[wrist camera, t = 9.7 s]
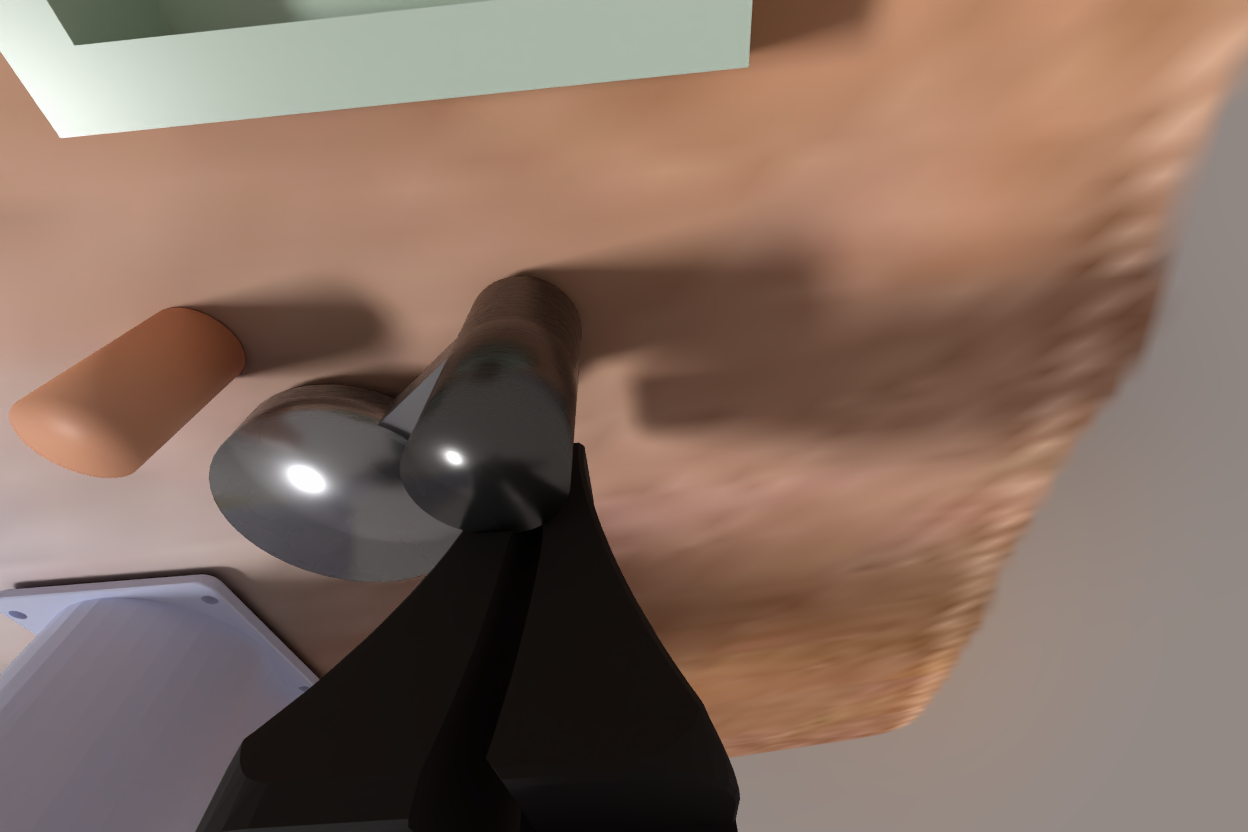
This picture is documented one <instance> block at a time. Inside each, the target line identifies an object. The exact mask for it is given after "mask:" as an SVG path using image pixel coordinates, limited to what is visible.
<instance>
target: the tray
mask: <svg viewBox="0 0 1248 832" xmlns="http://www.w3.org/2000/svg"><path fill="white" fill-rule="evenodd" d="M752 1H753V0H0V51H1V53H2V54H3V56H4V57H5V59H6V60H7V61H8V63H9V64H10V66H11V67H12V69H13V70H14V72H15V73H16V74H17V76H18V77H19V79H20V80H21V82H22V83H23V85H24V86H25V87H26V89H27V90H28V92H29V93H30V95H31V96H32V98H33V99H34V100H35V102H36V103H37V105H38V106H39V108H40V109H41V111H42V112H43V113H44V115H45V116H46V118H47V119H48V121H49V122H50V124H51V125H52V126H53V128H54V129H55V131H56V132H57V134H58V135H59V137H60V138H67V137H77V136H87V135H96V134H106V133H116V132H125V131H135V130H145V129H154V128H164V127H174V126H184V125H193V124H203V123H213V122H222V121H232V120H242V119H251V118H261V117H271V116H281V115H290V114H300V113H310V112H319V111H329V110H339V109H348V108H358V107H368V106H377V105H387V104H397V103H407V102H416V101H426V100H436V99H445V98H455V97H465V96H474V95H484V94H494V93H503V92H513V91H523V90H533V89H542V88H552V87H562V86H571V85H581V84H591V83H600V82H610V81H620V80H629V79H639V78H649V77H659V76H668V75H678V74H688V73H697V72H707V71H717V70H726V69H736V68H746V67H749V52H750V35H751V18H752Z"/></svg>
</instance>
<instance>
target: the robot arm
mask: <svg viewBox="0 0 1248 832" xmlns="http://www.w3.org/2000/svg"><path fill="white" fill-rule="evenodd" d="M0 613H2V614H4V615H5V616H7V617H8V618H10V619H12V620H13V621H15V622H16V623H18V624H19V625H21V626H23V627H24V628H26V629H27V630H29V631H30V632H32V633H34V634H35V635H37V636H36V637H35V638H34V639H33V640H32V641H31V642H30V643H29V644H28V646H27V647H26V648H25V649H24V650H23V651H22V652H21V653H20V654H19V655H18V656H17V657H16V658H15V659H14V660H13V661H12V663H11V664H10V665H9V666H8V667H7V668H6V669H5V670H4V671H3V672H2V673H1V674H0V832H738V831H737V825H736V815H737V810H738V805H739V801H740V793H739V787H738V784H737V780H736V777H735V773H734V770H733V768H732V765H731V763H730V760H729V758H728V755H727V753H726V751H725V749H724V746H723V744H722V742H721V740H720V738H719V736H718V734H717V732H716V730H715V728H714V726H713V724H712V722H711V720H710V718H709V716H708V713H707V711H706V709H705V706H704V704H703V703H702V701H701V700H700V698H699V697H698V696H697V694H696V693H695V691H694V690H693V689H692V687H691V686H690V685H689V683H688V682H687V680H686V679H685V677H684V676H683V674H682V673H681V672H680V670H679V669H678V667H677V666H676V664H675V663H674V661H673V660H672V658H671V657H670V655H669V654H668V652H667V651H666V649H665V647H664V646H663V644H662V643H661V641H660V640H659V638H658V637H657V635H656V633H655V632H654V630H653V628H652V626H651V625H650V623H649V621H648V620H647V618H646V616H645V615H644V613H643V611H642V609H641V608H640V606H639V604H638V603H637V601H636V599H635V597H634V595H633V594H632V592H631V590H630V588H629V586H628V584H627V582H626V580H625V578H624V576H623V574H622V572H621V570H620V568H619V566H618V564H617V562H616V560H615V558H614V555H613V553H612V551H611V549H610V546H609V544H608V542H607V539H606V537H605V534H604V532H603V529H602V527H601V524H600V521H599V519H598V516H597V513H596V510H595V507H594V501H593V495H592V489H591V483H590V477H589V471H588V465H587V459H586V453H585V447H584V446H583V445H582V444H580V443H573V456H572V470H571V483H570V492H569V496H568V499H567V501H566V503H565V505H564V506H563V508H562V509H561V510H560V511H559V512H558V513H557V514H556V515H555V516H554V517H553V518H552V519H551V520H549V521H548V522H546V523H544V524H543V525H541V526H539V527H536V528H534V529H531V530H528V531H525V532H520V533H516V534H514V533H513V531H504V532H491V533H472V532H467V531H462V532H461V533H460V535H459V536H458V537H457V539H456V540H455V541H454V543H453V544H452V545H451V547H450V548H449V549H448V551H447V552H446V553H445V554H444V556H443V557H442V558H441V559H440V560H439V562H438V563H437V564H436V565H435V567H434V568H433V569H432V570H431V571H430V572H429V574H428V575H427V576H426V577H425V578H424V579H423V580H422V581H421V583H420V584H419V585H418V586H417V587H416V588H415V589H414V590H413V592H412V593H411V594H410V595H409V596H408V597H407V598H406V599H405V600H404V601H403V602H402V603H401V604H400V605H399V606H398V607H397V608H396V609H395V610H394V611H393V612H392V613H391V614H390V616H389V617H388V618H387V619H386V620H385V621H384V622H383V623H382V624H381V625H380V626H379V627H377V628H376V629H375V630H374V631H373V632H372V633H371V634H370V635H369V636H368V637H367V638H366V639H365V640H364V641H363V642H362V643H360V644H359V645H358V646H357V647H356V648H355V649H354V650H353V651H352V652H350V653H349V654H348V655H347V656H346V657H345V658H344V659H343V660H341V661H340V662H339V663H338V664H337V665H336V666H335V667H334V668H333V669H331V670H330V671H329V672H328V673H327V674H326V675H325V676H323V677H322V678H321V679H319V678H318V677H317V676H316V675H315V674H314V673H313V672H312V671H311V670H310V669H309V668H308V667H307V666H306V665H305V664H304V663H303V662H302V661H301V660H300V659H299V658H298V657H297V656H296V655H295V654H294V653H293V652H292V651H291V650H290V649H289V648H288V647H287V646H286V645H285V644H284V643H283V642H282V641H281V640H280V639H279V638H278V637H277V636H276V635H275V634H274V633H273V632H272V631H271V630H270V629H269V628H268V627H267V626H266V625H265V624H264V623H263V622H262V621H261V620H260V619H259V618H258V617H257V616H256V615H255V614H254V613H253V612H252V611H251V610H250V609H249V608H248V607H247V606H246V605H245V604H244V603H243V602H242V601H241V600H240V599H239V598H238V597H237V596H236V595H235V594H234V593H233V592H232V591H231V590H230V589H229V588H228V587H227V586H226V585H225V584H224V583H223V582H222V581H220V580H219V579H218V578H216V577H213V576H210V575H204V574H199V575H187V576H174V577H161V578H149V579H136V580H123V581H111V582H98V583H85V584H73V585H60V586H47V587H35V588H22V589H9V590H2V591H0Z"/></svg>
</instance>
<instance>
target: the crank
mask: <svg viewBox="0 0 1248 832" xmlns="http://www.w3.org/2000/svg"><path fill="white" fill-rule="evenodd" d="M581 335H582V327H581V321H580V317H579V314H578V312H577V310H576V308H575V306H574V305H573V303H572V302H571V300H570V299H569V298H568V297H567V296H566V295H565V294H564V293H563V292H562V291H561V290H559V289H558V288H556V287H555V286H553V285H552V284H550V283H548V282H546V281H543V280H540V279H537V278H532V277H525V276H515V277H508V278H504V279H501V280H498V281H496V282H494V283H492V284H491V285H489V286H487V287H486V288H485V289H484V290H483V291H482V292H481V293H480V294H479V295H478V297H477V298H476V300H475V302H474V304H473V306H472V308H471V310H470V312H469V314H468V316H467V318H466V320H465V323H464V325H463V327H462V329H461V331H460V333H459V335H458V337H457V339H456V340H455V341H454V342H452V343H451V344H450V345H449V346H448V347H447V348H446V349H445V350H444V351H443V352H442V353H441V354H440V355H439V356H438V357H437V358H436V359H435V360H434V361H433V362H432V363H431V364H430V365H429V366H428V367H427V368H426V369H425V370H424V371H423V372H422V373H421V374H420V375H419V376H418V377H417V378H416V379H415V380H414V381H412V382H411V383H410V384H409V385H408V386H407V387H406V388H405V389H404V390H403V391H402V392H401V393H400V394H399V395H398V396H397V397H396V398H394V397H392V396H389V395H386V394H383V393H380V392H376V391H373V390H369V389H364V388H359V387H353V386H346V385H334V384H326V385H310V386H302V387H297V388H293V389H290V390H286V391H283V392H281V393H279V394H276V395H274V396H272V397H270V398H269V399H267V400H266V401H264V402H263V403H261V404H260V405H259V406H258V407H257V408H256V409H255V410H254V411H253V412H252V413H251V414H250V415H249V416H248V417H247V418H246V419H245V420H244V422H243V423H242V424H241V425H240V426H239V427H238V428H237V429H236V430H235V431H234V432H233V433H232V435H231V436H230V437H229V438H228V439H227V440H226V441H225V442H224V443H223V444H222V445H221V446H220V448H219V449H218V451H217V452H216V454H215V455H214V457H213V460H212V463H211V466H210V472H209V482H210V489H211V492H212V495H213V497H214V500H215V502H216V504H217V506H218V507H219V509H220V511H221V512H222V514H223V515H224V516H225V518H226V519H227V520H228V521H229V522H230V523H231V525H232V526H233V527H234V528H235V529H236V530H237V531H238V532H240V533H241V534H242V535H243V536H244V537H245V538H247V539H248V540H249V541H251V542H252V543H253V544H255V545H256V546H258V547H259V548H261V549H262V550H264V551H266V552H267V553H269V554H271V555H273V556H274V557H276V558H278V559H280V560H283V561H285V562H287V563H289V564H291V565H294V566H296V567H299V568H301V569H304V570H307V571H311V572H314V573H317V574H321V575H325V576H329V577H333V578H339V579H344V580H352V581H361V582H390V581H399V580H405V579H410V578H415V577H418V576H421V575H425V574H427V573H429V572H430V571H431V570H432V569H433V568H434V567H435V565H436V564H437V563H438V562H439V560H440V559H441V558H442V557H443V556H444V554H445V553H446V552H447V551H448V549H449V548H450V547H451V545H452V544H453V543H454V541H455V540H456V539H457V537H458V536H459V535H460V533H461V532H462V531H467V532H472V533H491V532H504V531H513V533H514V534H516V533H520V532H525V531H528V530H531V529H534V528H536V527H539V526H541V525H543V524H544V523H546V522H548V521H549V520H551V519H552V518H553V517H554V516H555V515H556V514H557V513H558V512H559V511H560V510H561V509H562V508H563V506H564V505H565V503H566V501H567V499H568V496H569V492H570V483H571V470H572V456H573V443H574V429H575V416H576V403H577V389H578V376H579V362H580V349H581Z"/></svg>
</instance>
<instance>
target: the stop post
mask: <svg viewBox="0 0 1248 832" xmlns="http://www.w3.org/2000/svg"><path fill="white" fill-rule="evenodd" d="M244 366H245V354H244V350H243V348H242V346H241V344H240V342H239V341H238V339H237V338H236V337H235V336H234V334H233V333H232V332H231V331H230V330H229V329H228V328H226V327H225V326H224V325H223V324H221V323H220V322H218V321H217V320H215V319H214V318H212V317H210V316H208V315H206V314H204V313H201V312H198V311H195V310H192V309H187V308H168V309H164V310H162V311H160V312H158V313H157V314H155V315H153V316H152V317H150V318H149V319H147V320H146V321H144V322H142V323H141V324H139V325H138V326H136V327H134V328H133V329H131V330H130V331H128V332H126V333H125V334H123V335H122V336H120V337H119V338H117V339H115V340H114V341H112V342H111V343H109V344H107V345H106V346H104V347H103V348H101V349H100V350H98V351H96V352H95V353H93V354H92V355H90V356H88V357H87V358H85V359H84V360H82V361H80V362H79V363H77V364H76V365H74V366H73V367H71V368H69V369H68V370H66V371H65V372H63V373H61V374H60V375H58V376H57V377H55V378H54V379H52V380H50V381H49V382H47V383H46V384H44V385H42V386H41V387H39V388H38V389H36V390H34V391H33V392H31V393H30V394H28V395H27V396H25V397H23V398H22V399H20V400H19V401H17V402H16V403H15V404H13V406H12V407H11V409H10V412H9V419H10V423H11V425H12V427H13V429H14V431H15V432H16V434H17V435H18V436H19V437H20V439H21V440H22V441H23V442H24V443H25V444H26V445H28V446H29V447H30V448H31V449H32V450H34V451H35V452H37V453H38V454H39V455H41V456H43V457H44V458H46V459H48V460H49V461H51V462H53V463H55V464H57V465H59V466H61V467H64V468H66V469H69V470H72V471H75V472H78V473H81V474H85V475H89V476H94V477H101V478H118V477H124V476H127V475H130V474H132V473H133V472H135V471H136V470H137V469H138V468H139V467H141V466H142V465H143V464H144V463H145V462H146V461H147V460H148V459H149V458H150V457H151V456H152V455H153V454H154V453H155V452H156V451H158V450H159V449H160V448H161V447H162V446H163V445H164V444H165V443H166V442H167V441H168V440H169V439H170V438H171V437H172V436H174V435H175V434H176V433H177V432H178V431H179V430H180V429H181V428H182V427H183V426H184V425H185V424H186V423H187V422H188V421H190V420H191V419H192V418H193V417H194V416H195V415H196V414H197V413H198V412H199V411H200V410H201V409H202V408H203V407H204V406H205V405H207V404H208V403H209V402H210V401H211V400H212V399H213V398H214V397H215V396H216V395H217V394H218V393H219V392H220V391H221V390H223V389H224V388H225V387H226V386H227V385H228V384H229V383H230V382H231V381H232V380H233V379H234V378H235V377H236V376H237V375H239V374H240V372H241V371H242V370H243V368H244Z"/></svg>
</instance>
